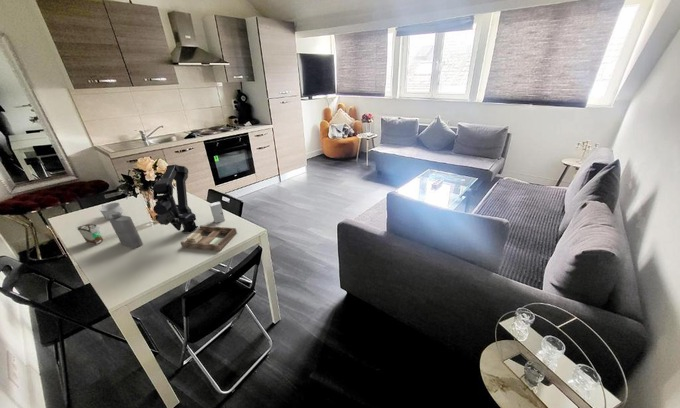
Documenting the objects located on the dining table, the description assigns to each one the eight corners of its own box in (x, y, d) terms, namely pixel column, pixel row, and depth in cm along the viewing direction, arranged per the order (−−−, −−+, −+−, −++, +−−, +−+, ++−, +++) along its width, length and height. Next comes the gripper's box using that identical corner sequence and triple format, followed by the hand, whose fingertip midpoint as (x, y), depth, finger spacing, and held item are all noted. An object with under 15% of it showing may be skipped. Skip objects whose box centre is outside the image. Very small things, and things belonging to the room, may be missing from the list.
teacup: (127, 215, 179) (122, 204, 175) (108, 222, 171) (102, 211, 167) (118, 210, 185) (113, 200, 182) (99, 217, 177) (94, 206, 174)
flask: (117, 243, 149) (101, 213, 139) (128, 238, 153) (113, 208, 144) (134, 249, 143) (118, 218, 134) (144, 243, 148) (130, 213, 138)
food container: (110, 239, 153) (102, 224, 148) (99, 245, 148) (90, 230, 143) (96, 235, 157) (88, 221, 152) (84, 241, 152) (76, 227, 147)
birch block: (188, 242, 144) (186, 238, 143) (194, 237, 148) (192, 232, 147) (196, 243, 143) (194, 238, 142) (202, 237, 147) (200, 233, 146)
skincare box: (215, 223, 165) (210, 206, 159) (213, 220, 168) (208, 203, 162) (225, 220, 168) (220, 203, 162) (224, 217, 171) (219, 201, 165)
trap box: (182, 247, 143) (180, 241, 142) (202, 230, 158) (200, 224, 156) (220, 251, 139) (218, 245, 137) (237, 233, 154) (235, 227, 152)
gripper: (141, 211, 132) (153, 237, 139) (173, 214, 129) (183, 240, 136) (158, 201, 141) (168, 225, 149) (189, 203, 138) (197, 228, 146)
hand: (179, 230), depth 145 cm, fingers closed
